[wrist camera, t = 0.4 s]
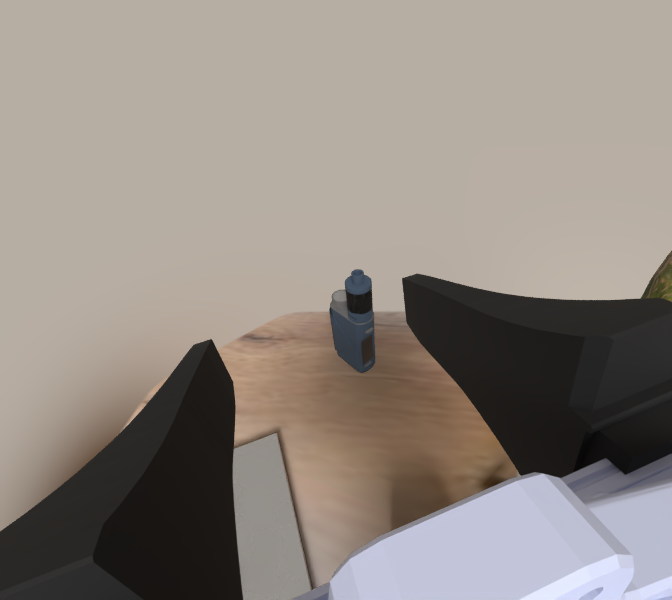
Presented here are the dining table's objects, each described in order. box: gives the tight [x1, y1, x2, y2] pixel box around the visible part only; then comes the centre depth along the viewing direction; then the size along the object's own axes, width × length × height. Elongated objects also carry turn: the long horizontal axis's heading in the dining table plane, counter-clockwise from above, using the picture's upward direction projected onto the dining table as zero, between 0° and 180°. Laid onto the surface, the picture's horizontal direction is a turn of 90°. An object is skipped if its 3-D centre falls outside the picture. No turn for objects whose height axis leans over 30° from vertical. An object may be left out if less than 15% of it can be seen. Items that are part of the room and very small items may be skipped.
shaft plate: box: [233, 433, 312, 600], centre depth 20 cm, size 16×12×4 cm
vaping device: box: [330, 270, 375, 373], centre depth 32 cm, size 3×5×12 cm, turn 40°
